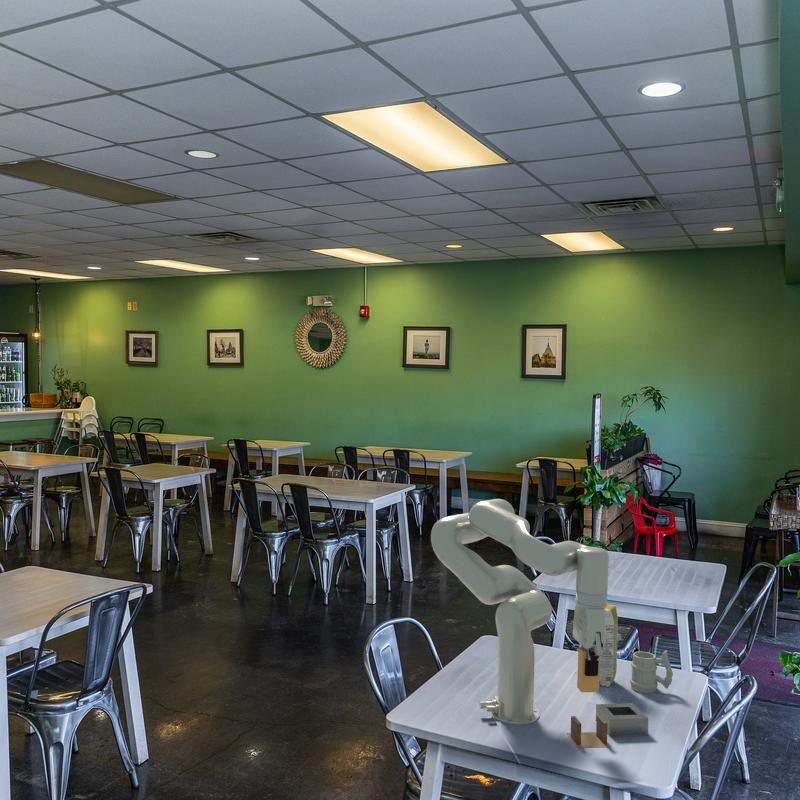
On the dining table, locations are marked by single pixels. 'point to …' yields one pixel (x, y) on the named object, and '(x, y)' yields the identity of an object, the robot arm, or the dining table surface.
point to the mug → (649, 672)
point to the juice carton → (609, 648)
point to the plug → (585, 681)
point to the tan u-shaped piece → (589, 734)
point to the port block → (623, 719)
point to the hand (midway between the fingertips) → (588, 672)
